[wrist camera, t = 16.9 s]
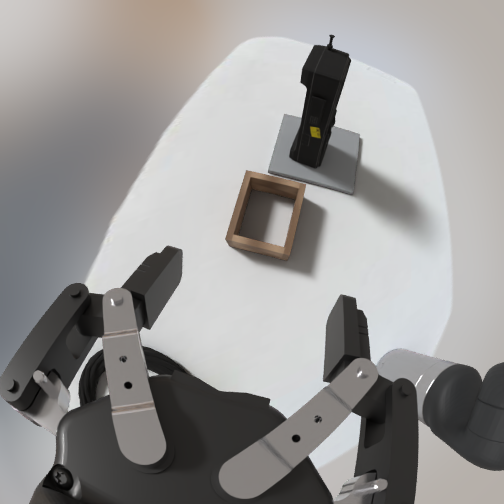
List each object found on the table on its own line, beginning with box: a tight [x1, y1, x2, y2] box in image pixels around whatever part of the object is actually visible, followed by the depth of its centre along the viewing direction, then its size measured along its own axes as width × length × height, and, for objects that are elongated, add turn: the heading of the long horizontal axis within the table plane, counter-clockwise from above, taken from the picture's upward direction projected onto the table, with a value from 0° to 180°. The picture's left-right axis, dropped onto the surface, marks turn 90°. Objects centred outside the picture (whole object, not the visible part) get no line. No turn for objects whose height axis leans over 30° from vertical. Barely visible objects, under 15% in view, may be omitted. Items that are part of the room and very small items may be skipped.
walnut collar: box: [225, 170, 306, 261], centre depth 44 cm, size 10×12×5 cm
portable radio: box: [289, 35, 351, 168], centre depth 36 cm, size 8×6×25 cm
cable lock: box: [78, 346, 187, 406], centre depth 39 cm, size 28×4×30 cm
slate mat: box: [268, 114, 360, 195], centre depth 48 cm, size 16×14×1 cm
